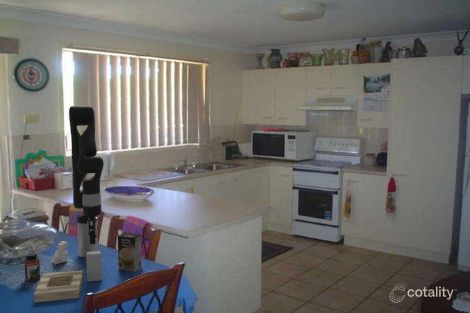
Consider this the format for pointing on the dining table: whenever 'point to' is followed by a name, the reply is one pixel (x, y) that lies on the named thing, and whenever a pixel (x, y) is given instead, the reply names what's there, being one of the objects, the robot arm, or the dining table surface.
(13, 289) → the dining table surface
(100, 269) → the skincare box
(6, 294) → the dining table surface
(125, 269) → the coffee box
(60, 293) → the collar block
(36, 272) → the supplement bottle
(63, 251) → the duck figurine
